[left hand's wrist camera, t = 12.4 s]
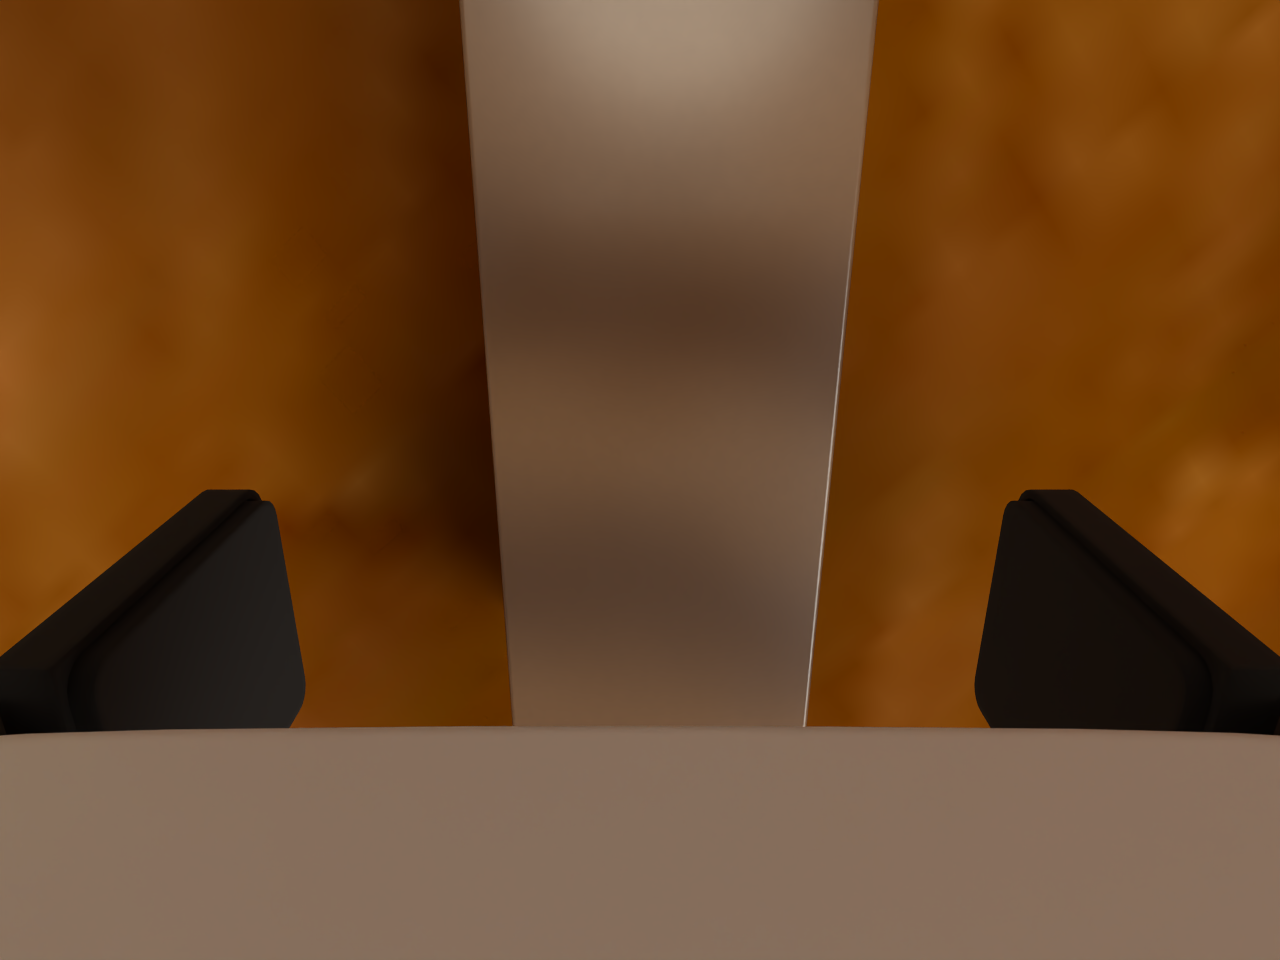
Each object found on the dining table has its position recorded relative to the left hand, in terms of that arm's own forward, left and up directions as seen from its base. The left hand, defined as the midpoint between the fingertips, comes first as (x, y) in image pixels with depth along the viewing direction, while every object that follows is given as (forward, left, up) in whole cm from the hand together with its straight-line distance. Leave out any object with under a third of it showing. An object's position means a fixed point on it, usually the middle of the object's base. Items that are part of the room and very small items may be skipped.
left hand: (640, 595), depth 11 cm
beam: (+3, +21, -11) cm, 24 cm away
